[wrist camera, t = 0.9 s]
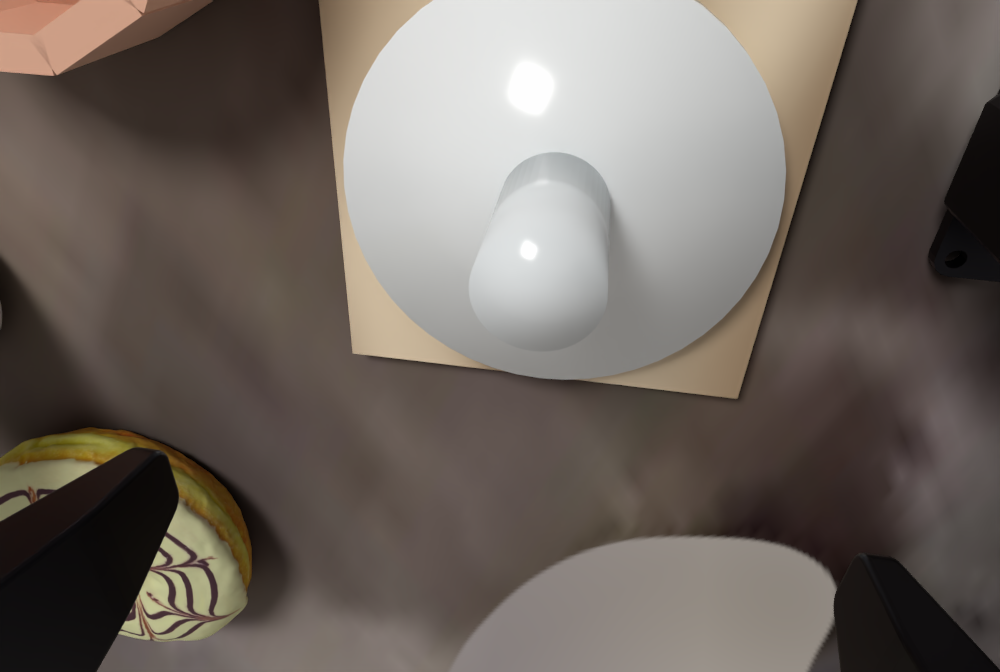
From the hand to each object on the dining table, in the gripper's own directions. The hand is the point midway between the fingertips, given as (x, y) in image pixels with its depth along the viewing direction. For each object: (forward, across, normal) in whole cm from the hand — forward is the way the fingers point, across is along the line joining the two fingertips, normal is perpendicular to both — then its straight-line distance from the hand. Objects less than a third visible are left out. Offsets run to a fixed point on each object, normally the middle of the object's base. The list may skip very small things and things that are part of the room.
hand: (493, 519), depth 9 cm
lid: (+11, 0, 0) cm, 11 cm away
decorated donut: (+12, +16, +16) cm, 26 cm away
